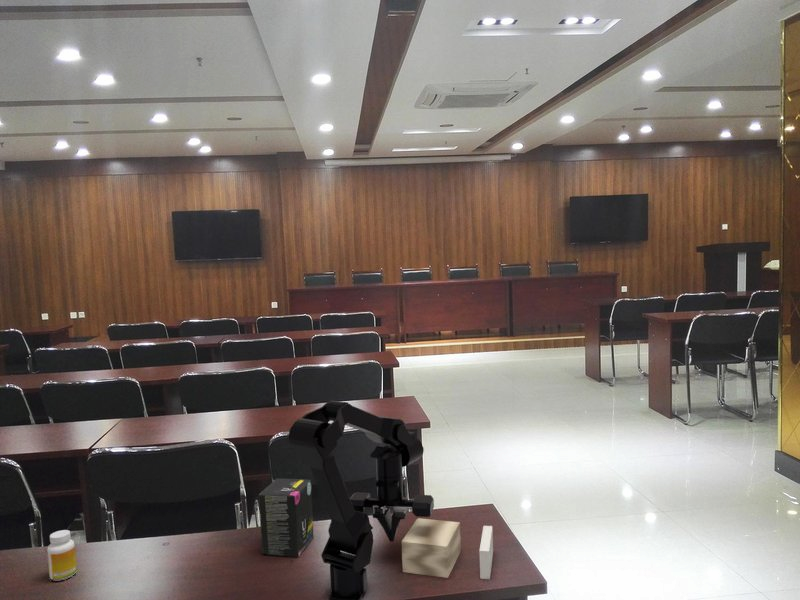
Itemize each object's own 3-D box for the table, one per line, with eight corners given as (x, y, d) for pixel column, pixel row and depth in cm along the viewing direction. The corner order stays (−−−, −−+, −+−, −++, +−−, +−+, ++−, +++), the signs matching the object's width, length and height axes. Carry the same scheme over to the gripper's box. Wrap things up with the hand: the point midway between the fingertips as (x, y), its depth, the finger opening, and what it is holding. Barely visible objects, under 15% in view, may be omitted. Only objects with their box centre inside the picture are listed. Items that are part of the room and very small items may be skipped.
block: (402, 572, 133) (401, 541, 133) (418, 547, 145) (417, 518, 144) (448, 578, 130) (446, 546, 130) (460, 552, 141) (459, 522, 141)
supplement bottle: (82, 573, 138) (78, 531, 137) (58, 584, 134) (55, 541, 133) (68, 568, 141) (64, 526, 140) (44, 579, 136) (40, 536, 136)
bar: (480, 578, 129) (479, 550, 129) (484, 551, 141) (483, 525, 141) (489, 579, 129) (489, 551, 128) (493, 551, 141) (492, 526, 140)
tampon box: (299, 558, 141) (295, 495, 140) (261, 555, 143) (257, 494, 142) (315, 536, 152) (312, 478, 151) (279, 534, 154) (276, 477, 153)
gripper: (436, 462, 144) (438, 527, 145) (358, 460, 148) (361, 523, 149) (428, 479, 133) (431, 550, 134) (345, 476, 137) (348, 545, 138)
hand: (392, 541), depth 139 cm, fingers closed
